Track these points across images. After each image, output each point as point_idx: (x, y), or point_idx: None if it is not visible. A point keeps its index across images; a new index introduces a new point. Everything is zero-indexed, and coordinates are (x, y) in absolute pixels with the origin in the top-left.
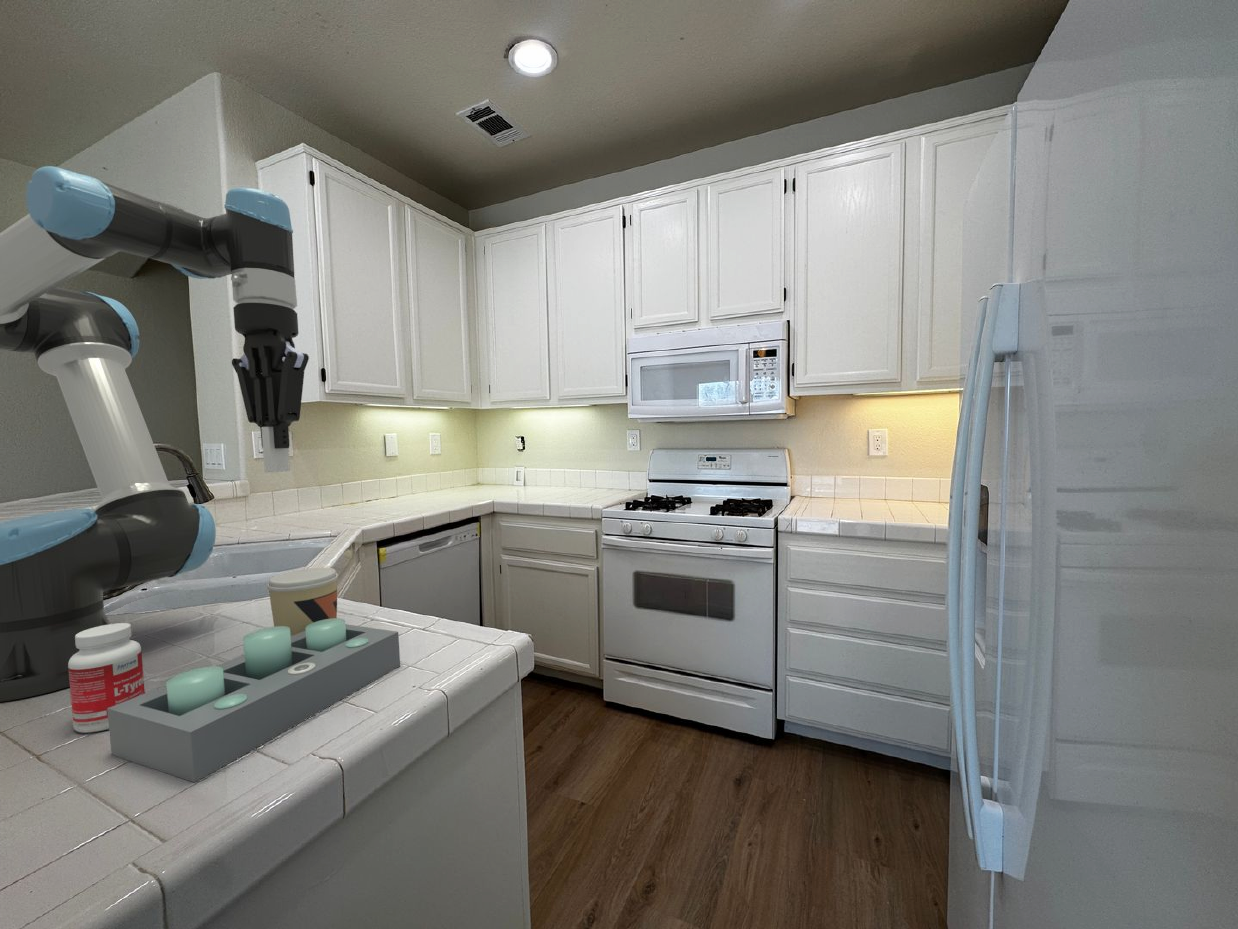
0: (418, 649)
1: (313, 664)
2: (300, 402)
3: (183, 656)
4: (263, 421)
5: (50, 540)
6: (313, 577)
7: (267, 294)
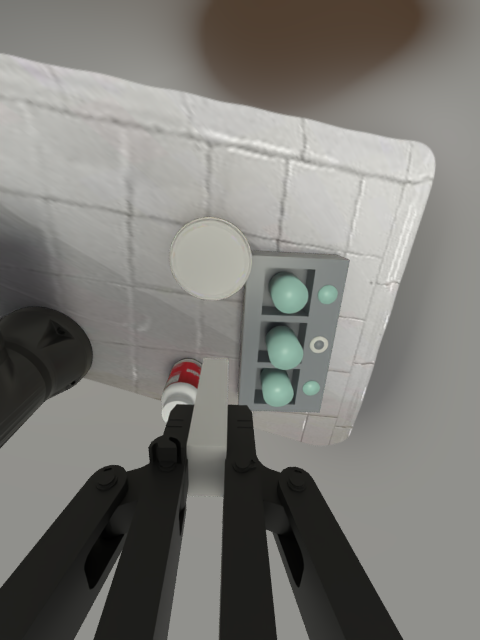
0: (332, 216)
1: (323, 338)
2: (353, 555)
3: (105, 291)
4: (185, 510)
5: None
6: (232, 265)
7: None
